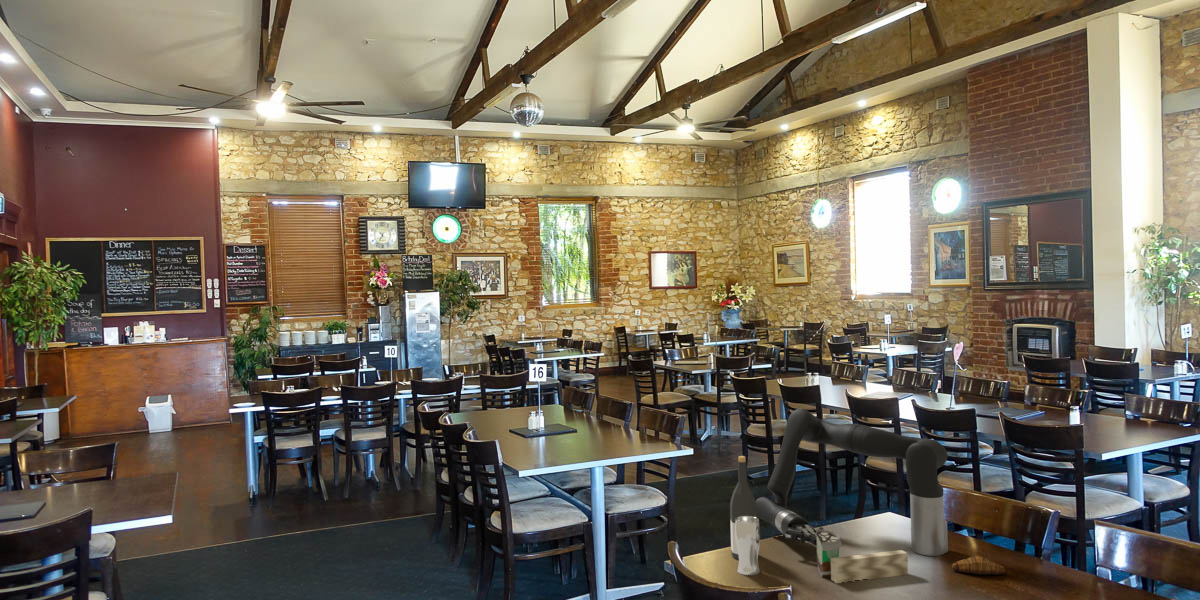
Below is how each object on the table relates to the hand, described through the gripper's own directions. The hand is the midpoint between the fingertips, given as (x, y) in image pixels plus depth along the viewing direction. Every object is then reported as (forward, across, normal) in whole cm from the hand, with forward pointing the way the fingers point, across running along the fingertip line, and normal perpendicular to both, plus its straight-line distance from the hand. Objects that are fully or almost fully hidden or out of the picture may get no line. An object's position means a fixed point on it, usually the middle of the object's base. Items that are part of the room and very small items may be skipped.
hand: (819, 542), depth 213 cm
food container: (+6, 0, +6) cm, 9 cm away
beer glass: (0, -22, +7) cm, 23 cm away
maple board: (+12, +8, +6) cm, 16 cm away
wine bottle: (-12, -18, +6) cm, 23 cm away
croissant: (+18, +38, +7) cm, 43 cm away
